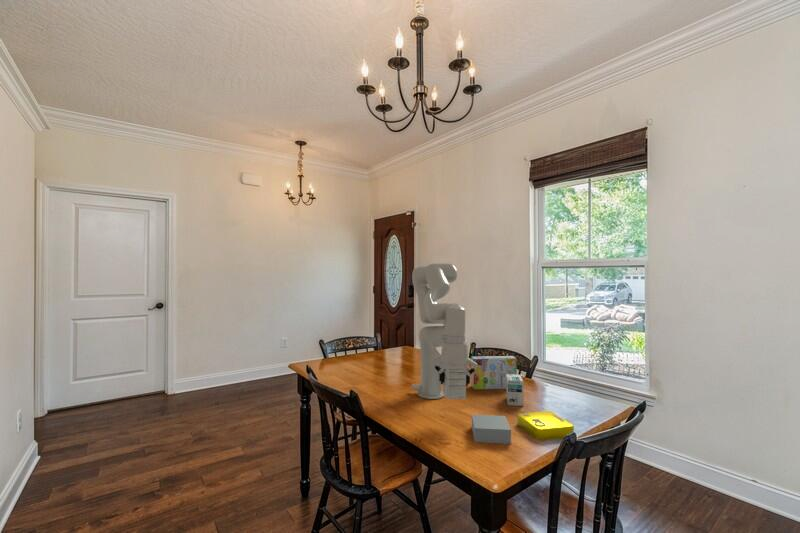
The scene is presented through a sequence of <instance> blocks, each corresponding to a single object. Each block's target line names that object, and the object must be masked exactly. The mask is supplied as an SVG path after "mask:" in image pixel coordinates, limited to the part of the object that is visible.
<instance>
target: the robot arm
mask: <svg viewBox="0 0 800 533" xmlns="http://www.w3.org/2000/svg"><path fill="white" fill-rule="evenodd" d="M411 275H412V278H411V279H412V285H413V288H414V290H415V293H416V295H417V300H418V310H419V319H420V321H421V322H422V323H423V324H424V325H425V324H426V326H424V327H421V328H420V330H419V332H418V340H419V347H420V383H419V384H414V383H413V384H412V383H411V389H412V390H413V391H417V396H418V397H419V398H421V399H426V400H427V399H428V400H438V399H441V398H444V397H446V395H445V394H444V392H443V387H442V386H443V382H444V369H445V370H446V365H457V366H463V371H466V388H467V387H468V386H469V385H470V384H471V374H472V373H473V372H474V371H475V369H476V368H477V366H478V364H477V363H475V362H474V361H472V360H471V358H469V351H468V350H469V349H468V344H467V343H468V342H466V309H465V308H464V307H463V306H462V305H461V304H459V303H456V302H455V303H454V302H453V303H449V302H448V303H447V302H445V303H444V302H443V303H438V302H437V301H438V300H440V299H442V298H444V297H446V296H447V295H448V294H449V293H450V290H451V286H450V284H451V283H452V284H453V283H454V282H455V281H457V278H458V270H457V268H456V266H455V265H453V264H452V263H431V264H428V265H427V266H426V265H425V266H418V267H416V268H414V269H413V270H412V274H411ZM429 325H430V326H429ZM440 347H441V353H440V352H439V351H438V349H437V348H440ZM469 365H470V366H471V365H473V367H472V369H471V368H470V369H469Z"/></svg>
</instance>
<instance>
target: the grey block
mask: <svg viewBox="0 0 800 533" xmlns="http://www.w3.org/2000/svg"><path fill="white" fill-rule="evenodd" d="M471 430H472V435H473V440H474V443H484V444H485V443H487V444H488V443H489V444H507V445H509V444H512V429H511V427H510V424H509V422H508V419H507V417H506V416H505V415H487V414H471Z"/></svg>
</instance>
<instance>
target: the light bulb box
mask: <svg viewBox="0 0 800 533" xmlns="http://www.w3.org/2000/svg"><path fill="white" fill-rule="evenodd" d="M524 381H525V380H524V379H523V377H522V374H517V375H515V374H506V389H505V390H506V400H507V401H506V402H507V406H515V407H516V406H517V407H518V406H519V407H524V402H525V401H524V396H525V395H524V389H525V388H524Z"/></svg>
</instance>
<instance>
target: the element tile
mask: <svg viewBox="0 0 800 533" xmlns="http://www.w3.org/2000/svg"><path fill="white" fill-rule="evenodd" d="M516 418H517V421H516V422H517V427H519V428H520V429H522V430H523V431H524V432H525V433H527V435H529V436H530V437H531V438H532V439H534V440H536V441H542V442H543V441H552V440H562V439H563V440H564V439H565V438H564V437H565V436H566V435H567V434H570V433H574V434H575V432H574V428H575V426H574V424H573V423H571V422H569V421H568V420H566V419H565V418H563V417H561V416H560V415H559V414H557V413H555V412H554V411H551V410H544V411H532V412H531V411H530V412H522V413H521V412H520V413H517V416H516Z"/></svg>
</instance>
